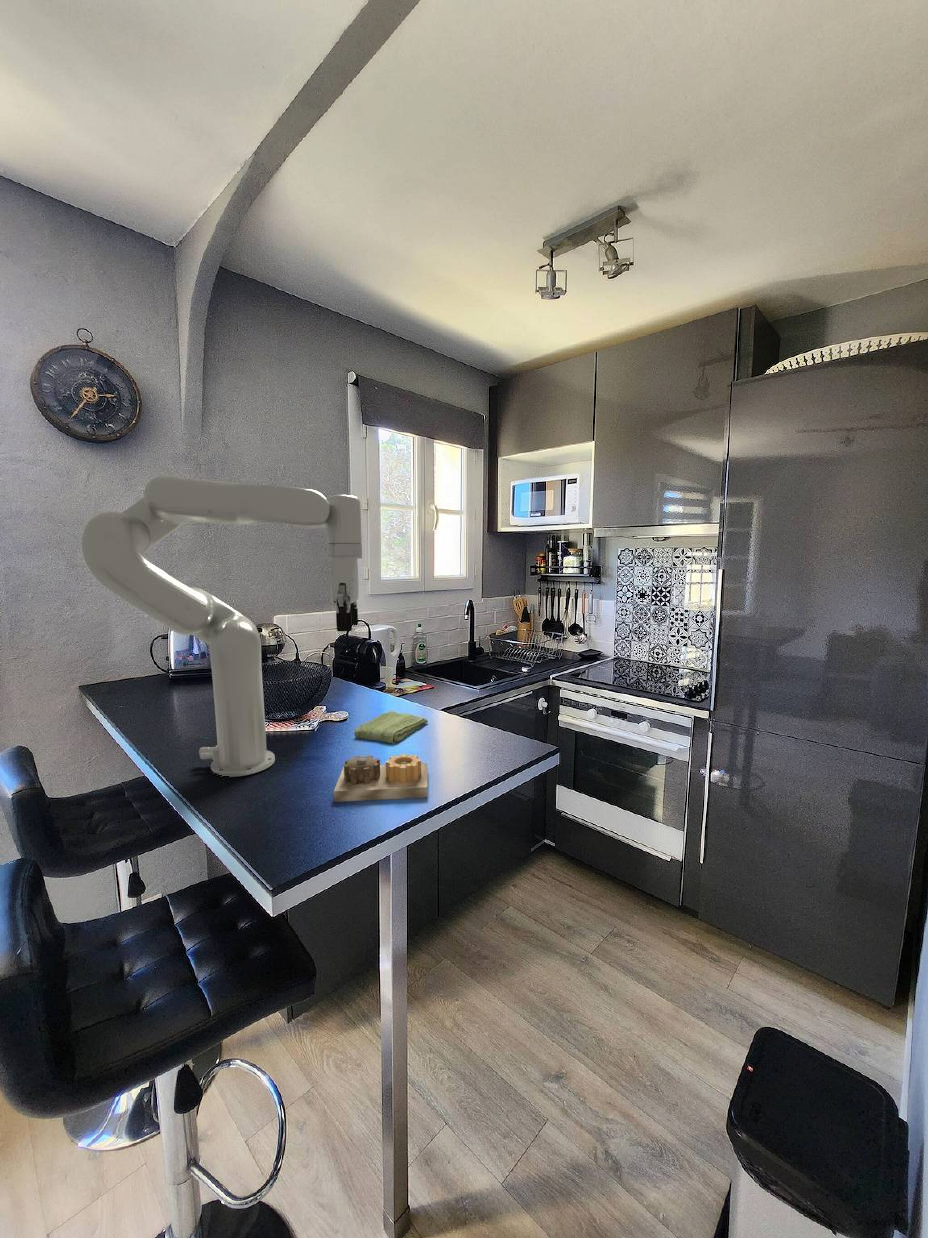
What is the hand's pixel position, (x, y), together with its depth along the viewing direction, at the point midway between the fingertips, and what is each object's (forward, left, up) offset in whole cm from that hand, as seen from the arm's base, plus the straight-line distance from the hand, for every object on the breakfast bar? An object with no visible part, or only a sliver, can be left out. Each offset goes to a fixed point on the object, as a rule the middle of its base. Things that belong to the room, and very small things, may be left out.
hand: (347, 628), depth 114 cm
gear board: (+9, -21, -28) cm, 36 cm away
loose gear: (+13, -21, -26) cm, 36 cm away
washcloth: (+8, +11, -29) cm, 32 cm away
